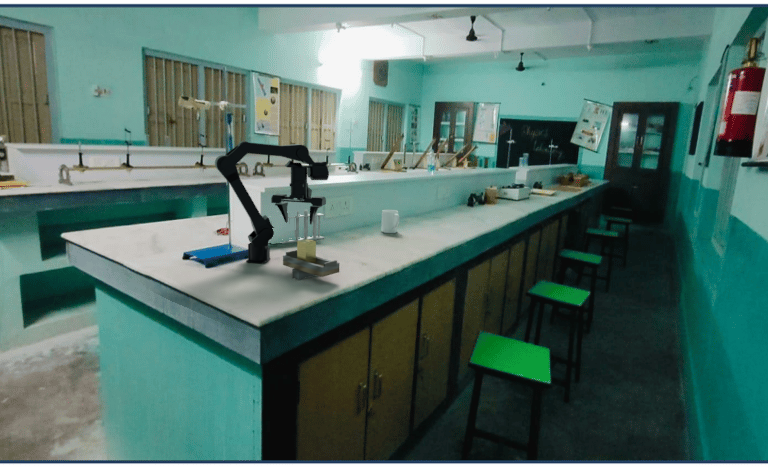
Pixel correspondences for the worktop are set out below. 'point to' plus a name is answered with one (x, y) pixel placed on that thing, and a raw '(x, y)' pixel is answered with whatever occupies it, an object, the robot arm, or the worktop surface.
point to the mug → (389, 221)
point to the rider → (306, 250)
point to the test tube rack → (306, 227)
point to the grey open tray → (309, 266)
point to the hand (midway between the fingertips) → (298, 223)
